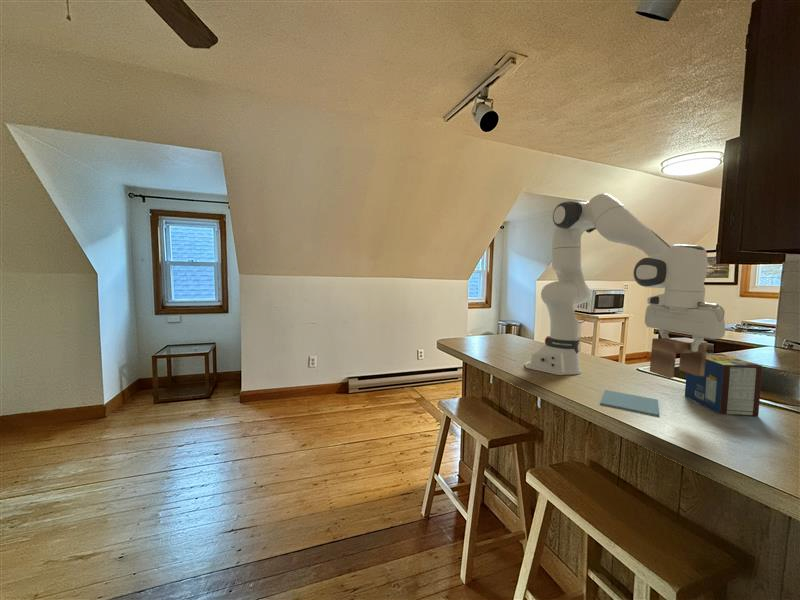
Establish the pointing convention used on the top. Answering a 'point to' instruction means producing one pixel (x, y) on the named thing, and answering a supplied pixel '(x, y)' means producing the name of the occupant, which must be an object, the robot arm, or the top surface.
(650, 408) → the rubber mat
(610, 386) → the top surface
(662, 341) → the brown block
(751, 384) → the protein box
